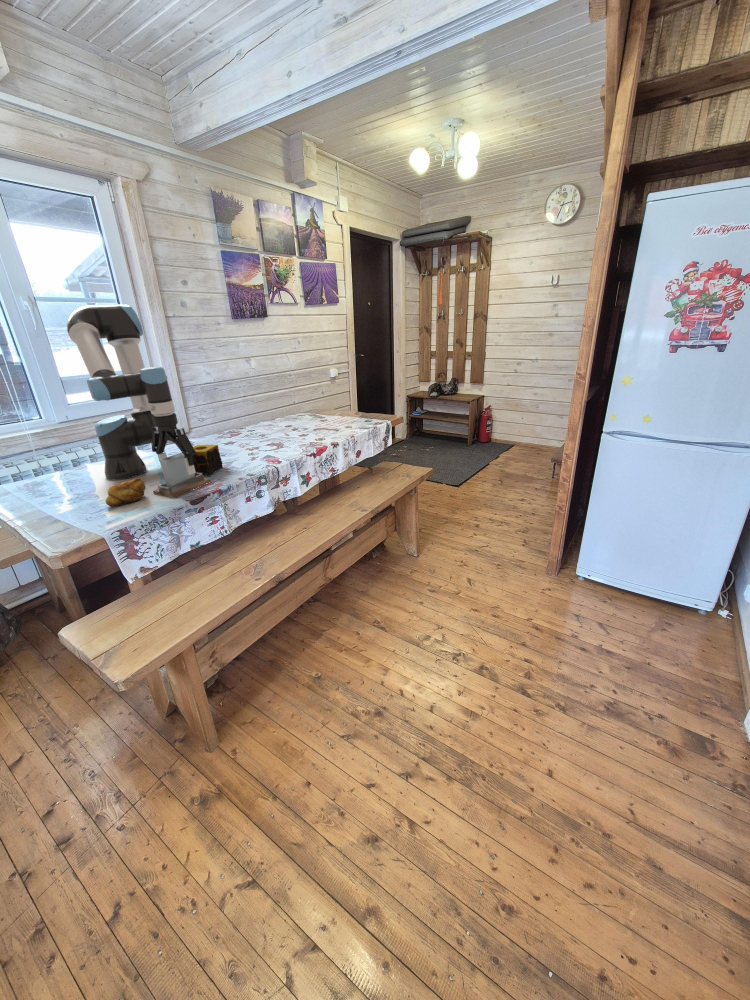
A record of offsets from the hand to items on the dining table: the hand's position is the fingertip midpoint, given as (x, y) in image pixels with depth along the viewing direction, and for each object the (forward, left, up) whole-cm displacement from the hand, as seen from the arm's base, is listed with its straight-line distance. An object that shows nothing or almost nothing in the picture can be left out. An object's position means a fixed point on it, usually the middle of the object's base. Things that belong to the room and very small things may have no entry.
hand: (179, 472), depth 153 cm
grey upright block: (0, 0, -5) cm, 5 cm away
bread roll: (-10, -16, -6) cm, 20 cm away
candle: (-6, +17, -6) cm, 19 cm away
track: (0, 0, -6) cm, 6 cm away
